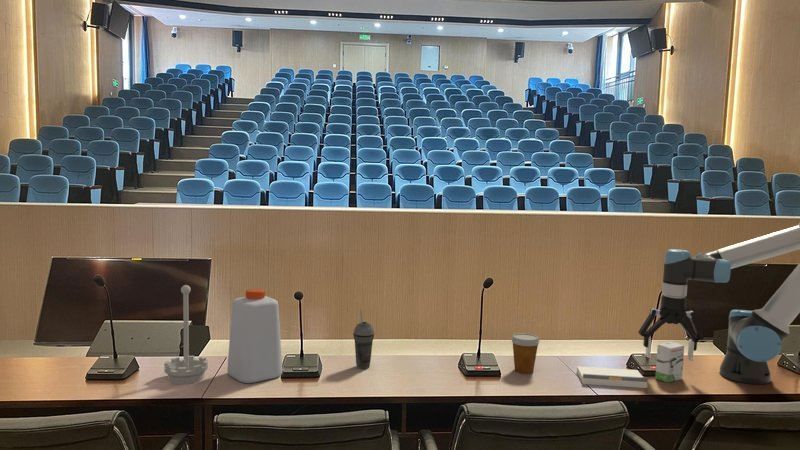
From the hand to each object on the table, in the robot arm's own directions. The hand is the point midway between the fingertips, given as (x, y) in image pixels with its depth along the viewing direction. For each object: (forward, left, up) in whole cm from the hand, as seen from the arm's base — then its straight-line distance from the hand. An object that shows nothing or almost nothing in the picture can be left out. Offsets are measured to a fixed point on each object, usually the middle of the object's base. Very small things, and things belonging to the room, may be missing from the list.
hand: (668, 358), depth 201 cm
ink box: (0, 0, -7) cm, 7 cm away
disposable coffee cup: (+48, +1, -7) cm, 48 cm away
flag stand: (+156, +30, -7) cm, 159 cm away
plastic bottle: (+136, +23, -7) cm, 138 cm away
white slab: (+20, +5, -7) cm, 21 cm away
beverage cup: (+103, +8, -7) cm, 103 cm away
